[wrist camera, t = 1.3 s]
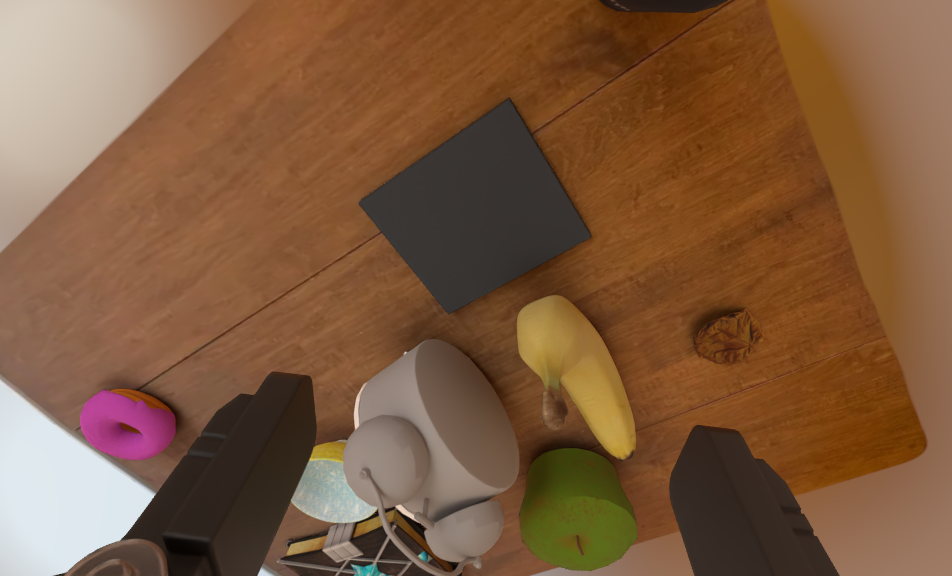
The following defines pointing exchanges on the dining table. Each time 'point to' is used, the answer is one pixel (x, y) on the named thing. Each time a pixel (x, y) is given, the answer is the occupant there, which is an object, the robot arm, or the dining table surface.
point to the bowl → (329, 488)
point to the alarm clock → (434, 452)
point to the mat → (477, 210)
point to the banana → (576, 372)
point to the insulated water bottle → (662, 5)
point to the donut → (127, 424)
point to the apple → (576, 511)
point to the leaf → (729, 338)
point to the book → (364, 550)
